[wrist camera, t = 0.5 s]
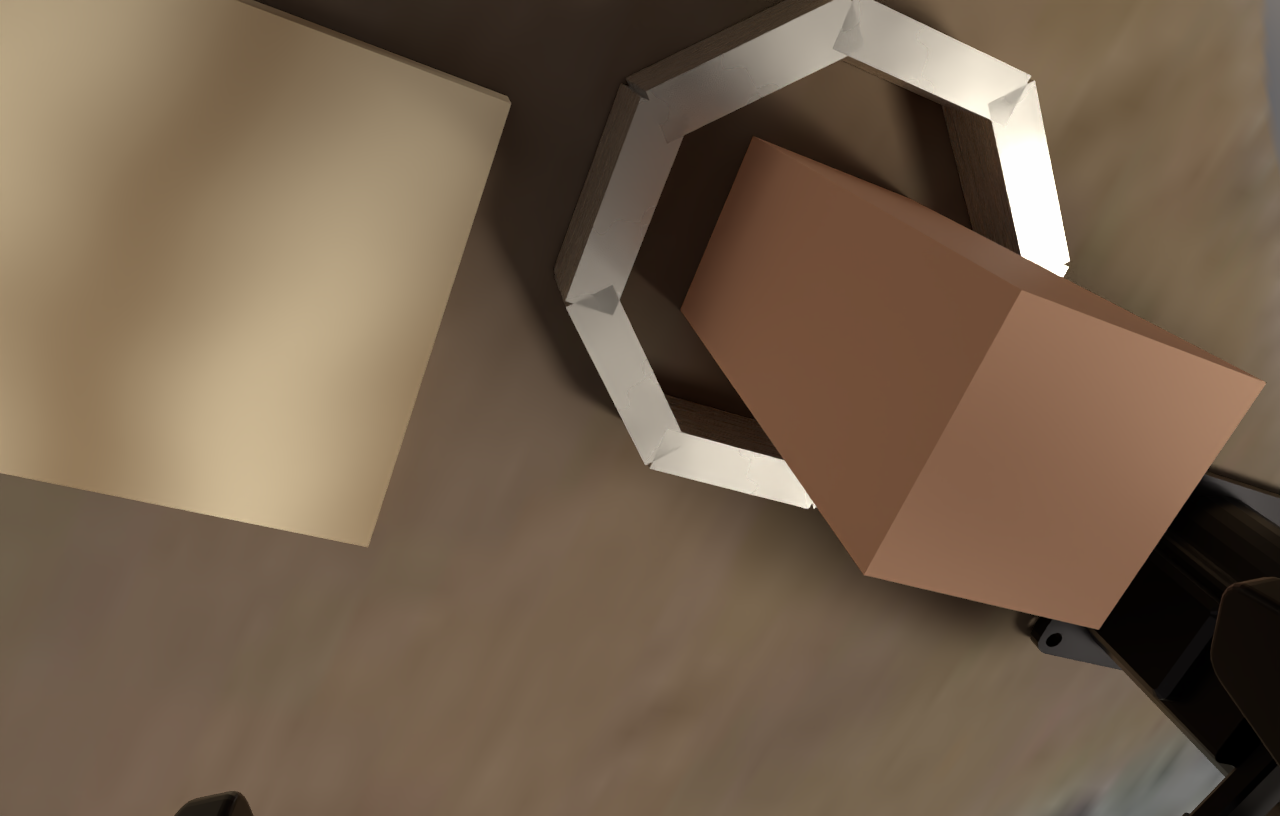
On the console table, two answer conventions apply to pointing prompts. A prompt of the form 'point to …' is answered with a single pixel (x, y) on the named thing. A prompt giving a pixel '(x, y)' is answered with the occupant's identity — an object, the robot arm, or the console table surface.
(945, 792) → the console table surface
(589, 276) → the metal ring
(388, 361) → the maple board
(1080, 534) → the peg
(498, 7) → the console table surface
